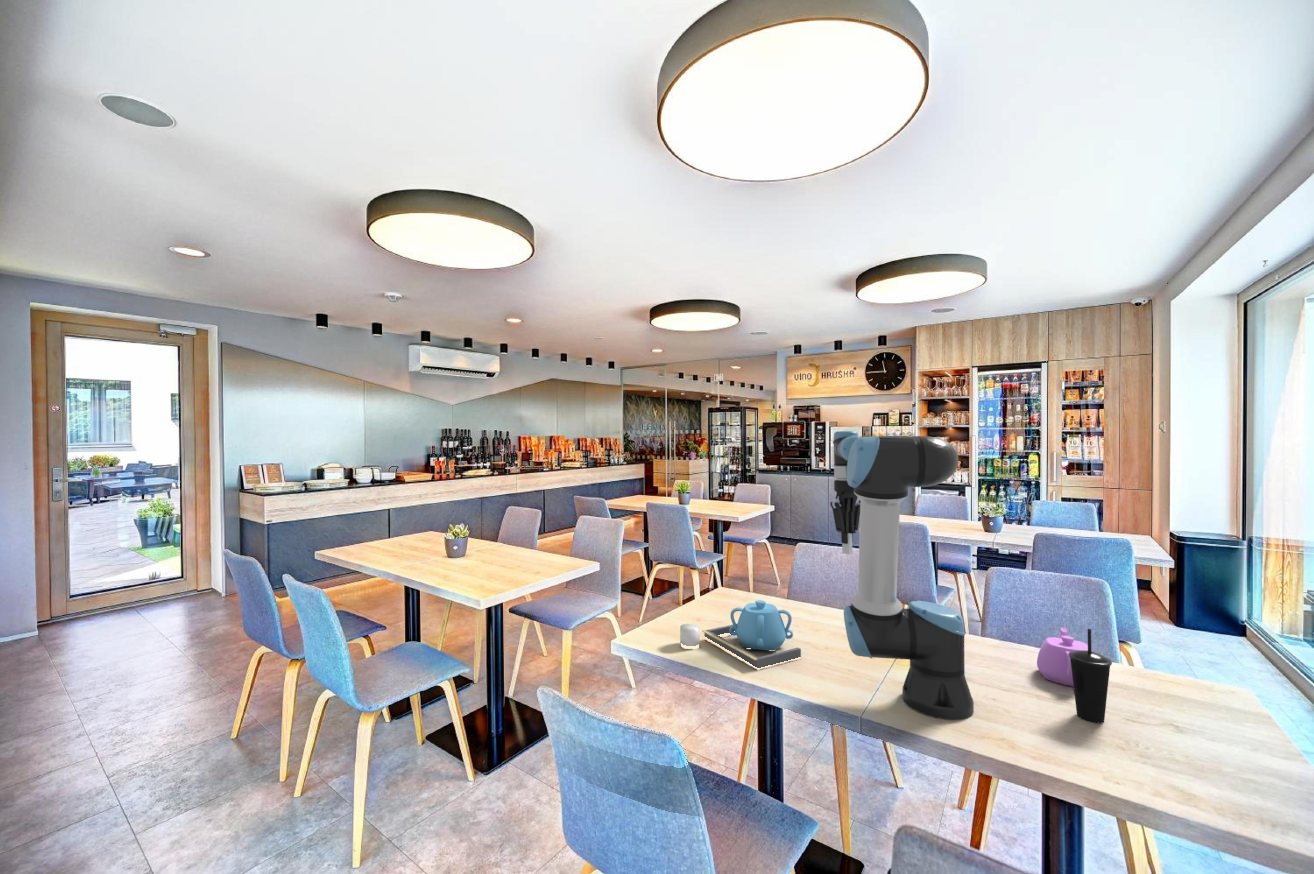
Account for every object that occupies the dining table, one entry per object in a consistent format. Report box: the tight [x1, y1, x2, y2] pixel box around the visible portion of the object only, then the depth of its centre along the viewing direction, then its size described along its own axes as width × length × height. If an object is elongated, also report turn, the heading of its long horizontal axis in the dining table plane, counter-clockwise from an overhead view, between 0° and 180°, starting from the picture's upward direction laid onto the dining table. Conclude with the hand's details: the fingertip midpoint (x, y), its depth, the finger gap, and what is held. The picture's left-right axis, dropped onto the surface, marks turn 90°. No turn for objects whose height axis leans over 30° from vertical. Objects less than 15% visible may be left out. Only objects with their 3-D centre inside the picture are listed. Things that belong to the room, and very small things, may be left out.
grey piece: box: [701, 623, 802, 668], centre depth 163 cm, size 26×17×3 cm, turn 29°
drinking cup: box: [1069, 628, 1113, 724], centre depth 122 cm, size 8×8×20 cm
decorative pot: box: [729, 599, 794, 651], centre depth 167 cm, size 16×16×14 cm
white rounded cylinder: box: [679, 623, 701, 646], centre depth 167 cm, size 7×6×6 cm
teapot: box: [1036, 626, 1088, 687], centre depth 142 cm, size 13×20×11 cm
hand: (847, 553), depth 172 cm, fingers closed
